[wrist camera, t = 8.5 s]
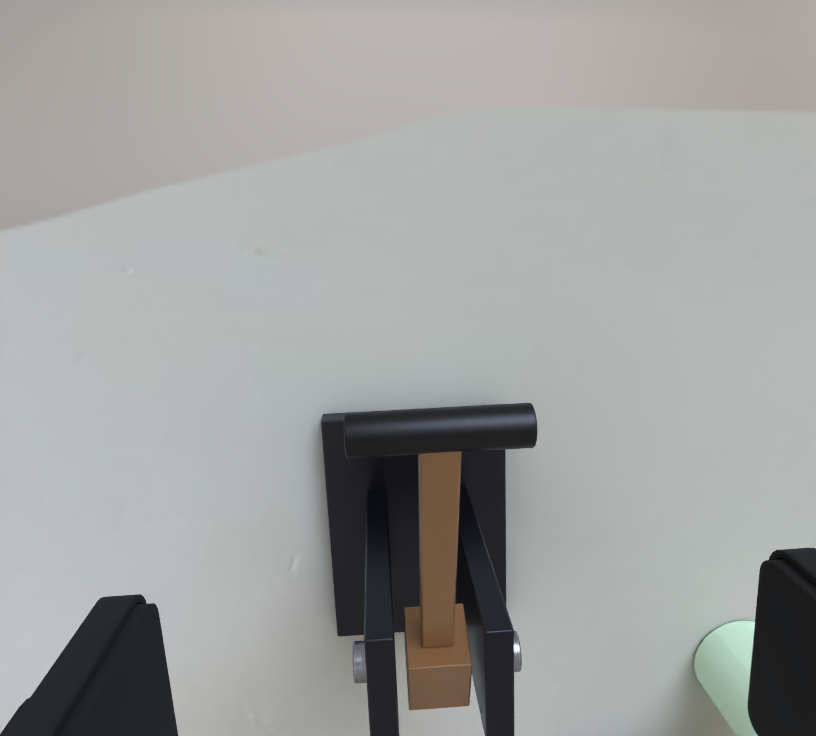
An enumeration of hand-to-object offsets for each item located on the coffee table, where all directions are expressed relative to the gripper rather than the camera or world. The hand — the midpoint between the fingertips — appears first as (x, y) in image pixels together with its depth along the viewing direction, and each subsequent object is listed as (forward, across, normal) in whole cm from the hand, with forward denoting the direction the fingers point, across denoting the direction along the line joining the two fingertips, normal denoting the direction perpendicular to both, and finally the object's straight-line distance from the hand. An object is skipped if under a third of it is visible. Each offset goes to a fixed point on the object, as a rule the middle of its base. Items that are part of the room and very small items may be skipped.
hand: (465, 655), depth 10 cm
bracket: (+23, 0, +9) cm, 25 cm away
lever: (+11, 0, +4) cm, 12 cm away
